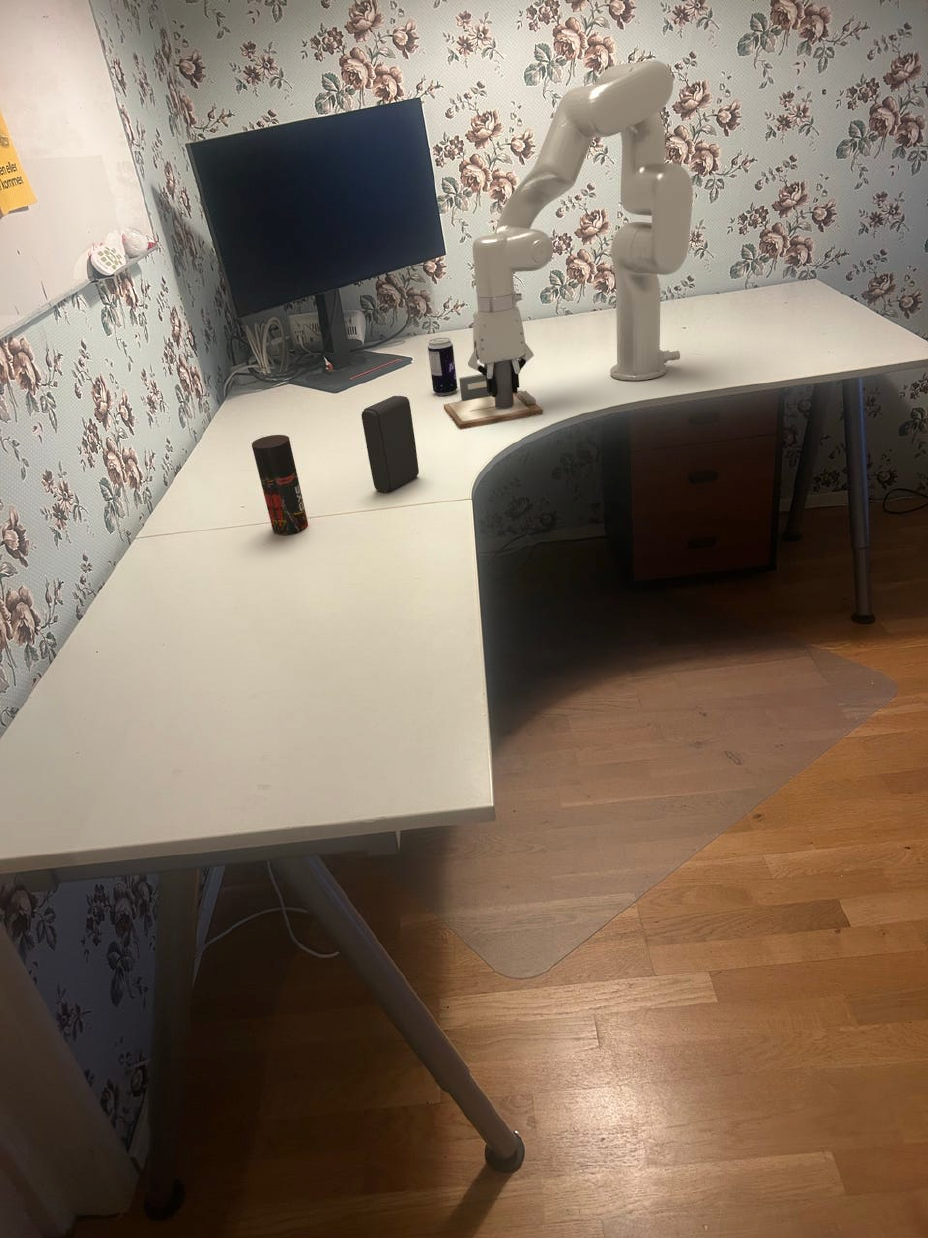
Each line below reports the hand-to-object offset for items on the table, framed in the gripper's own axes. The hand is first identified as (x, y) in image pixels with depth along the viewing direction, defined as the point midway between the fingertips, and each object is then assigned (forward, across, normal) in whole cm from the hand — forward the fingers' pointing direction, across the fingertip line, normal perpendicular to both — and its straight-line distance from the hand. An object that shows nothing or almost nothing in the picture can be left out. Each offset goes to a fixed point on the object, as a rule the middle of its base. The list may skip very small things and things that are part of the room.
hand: (503, 392), depth 179 cm
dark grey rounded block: (+4, +28, +28) cm, 40 cm away
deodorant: (+4, +48, +38) cm, 62 cm away
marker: (+3, 0, 0) cm, 3 cm away
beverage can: (+4, +8, -21) cm, 23 cm away
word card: (+4, +1, -13) cm, 14 cm away
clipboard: (+4, +2, -2) cm, 5 cm away
